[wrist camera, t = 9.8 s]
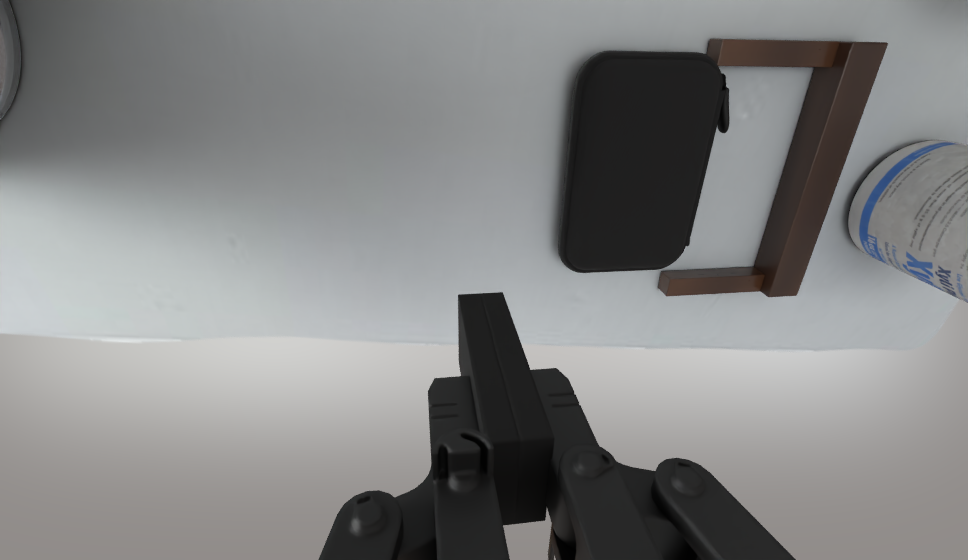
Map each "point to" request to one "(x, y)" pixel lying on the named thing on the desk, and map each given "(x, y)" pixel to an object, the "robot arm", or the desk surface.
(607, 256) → the carrying case
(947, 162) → the supplement tub
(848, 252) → the desk surface
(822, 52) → the brown u-shaped frame
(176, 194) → the desk surface
